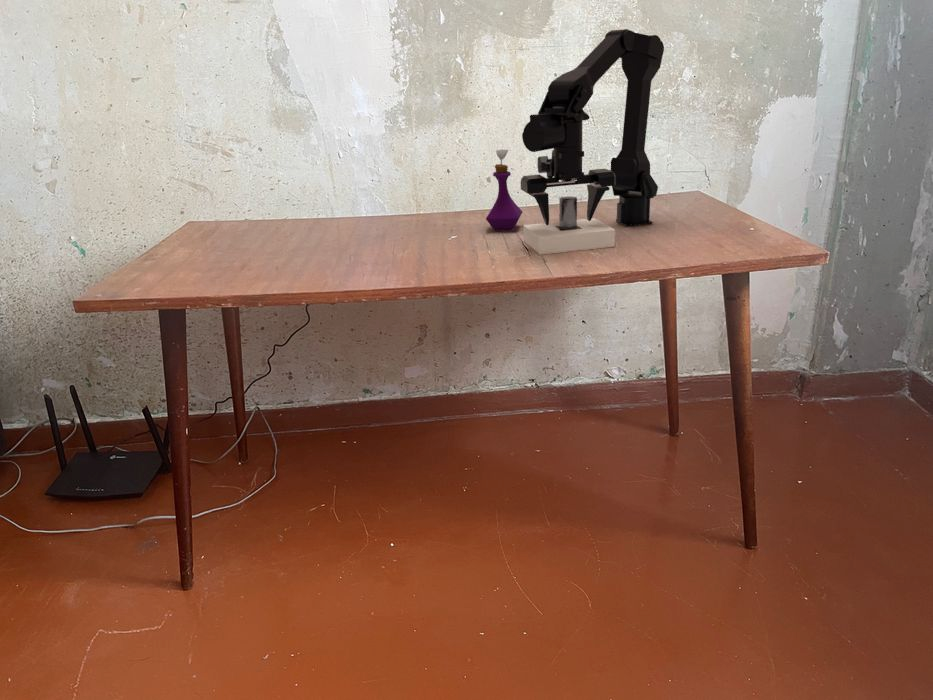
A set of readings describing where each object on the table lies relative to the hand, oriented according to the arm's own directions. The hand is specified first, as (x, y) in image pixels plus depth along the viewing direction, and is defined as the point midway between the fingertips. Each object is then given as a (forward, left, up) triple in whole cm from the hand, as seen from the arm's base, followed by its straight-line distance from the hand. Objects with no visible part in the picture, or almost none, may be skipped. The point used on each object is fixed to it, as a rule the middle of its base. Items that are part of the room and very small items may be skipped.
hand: (568, 222), depth 148 cm
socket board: (0, 0, -4) cm, 4 cm away
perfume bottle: (+9, -19, -5) cm, 22 cm away
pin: (0, 0, -4) cm, 4 cm away
